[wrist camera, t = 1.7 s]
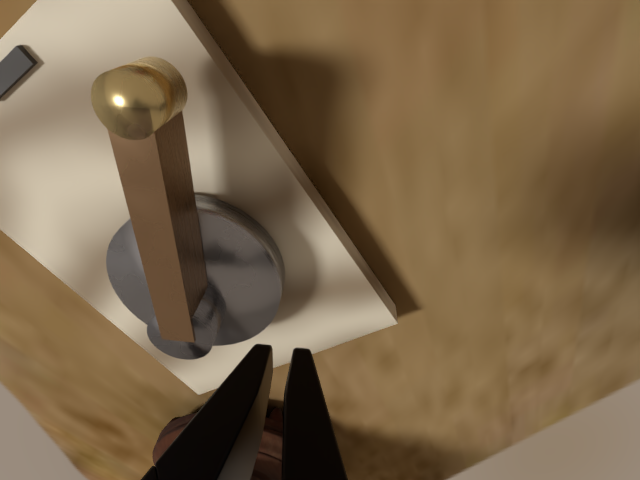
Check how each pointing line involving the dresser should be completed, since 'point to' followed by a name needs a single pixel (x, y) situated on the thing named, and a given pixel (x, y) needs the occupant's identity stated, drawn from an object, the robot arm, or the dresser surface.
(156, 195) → the cam lever
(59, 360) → the dresser surface
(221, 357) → the ash stand
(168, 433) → the brown tall stacked figurine
